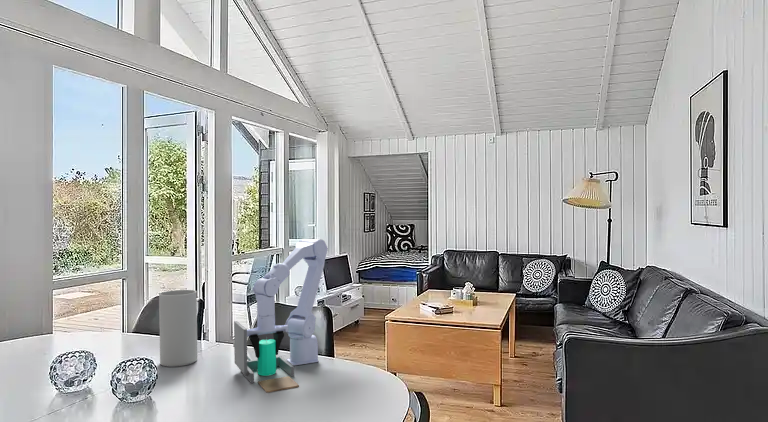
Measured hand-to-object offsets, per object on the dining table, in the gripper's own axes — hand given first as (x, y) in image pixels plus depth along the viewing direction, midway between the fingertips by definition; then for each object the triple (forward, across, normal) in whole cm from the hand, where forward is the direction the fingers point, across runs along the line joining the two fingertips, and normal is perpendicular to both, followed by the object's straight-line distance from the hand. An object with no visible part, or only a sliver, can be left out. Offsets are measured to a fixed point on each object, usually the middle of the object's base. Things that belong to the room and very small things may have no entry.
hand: (266, 355), depth 171 cm
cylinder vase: (+6, +24, -29) cm, 38 cm away
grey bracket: (+6, +1, -1) cm, 6 cm away
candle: (+6, 0, 0) cm, 6 cm away
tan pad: (+6, 0, +13) cm, 14 cm away
